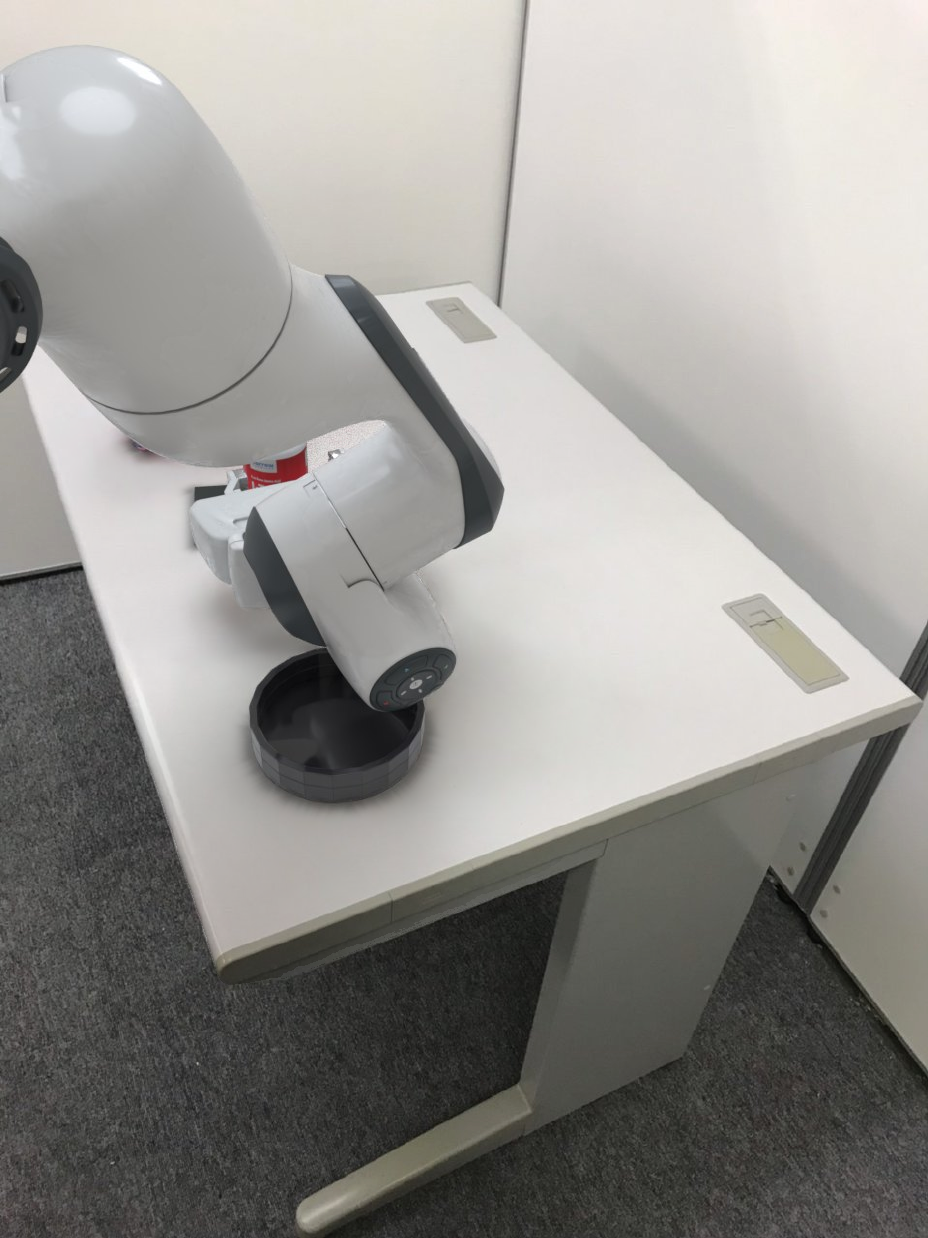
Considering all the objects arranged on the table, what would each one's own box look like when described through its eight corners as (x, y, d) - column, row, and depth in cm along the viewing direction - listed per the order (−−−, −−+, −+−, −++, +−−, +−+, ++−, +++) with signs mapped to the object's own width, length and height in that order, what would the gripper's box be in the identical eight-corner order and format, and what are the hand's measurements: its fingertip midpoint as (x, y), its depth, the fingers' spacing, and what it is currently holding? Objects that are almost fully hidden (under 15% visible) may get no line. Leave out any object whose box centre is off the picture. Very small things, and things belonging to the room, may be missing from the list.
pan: (256, 813, 70) (252, 785, 68) (249, 682, 79) (246, 655, 77) (436, 790, 72) (438, 763, 70) (408, 666, 82) (409, 639, 80)
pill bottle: (247, 527, 94) (236, 428, 86) (246, 491, 98) (236, 393, 91) (312, 524, 95) (306, 425, 87) (308, 488, 99) (302, 391, 92)
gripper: (456, 496, 80) (392, 415, 89) (211, 551, 73) (169, 457, 82) (452, 555, 85) (391, 472, 94) (220, 613, 77) (179, 517, 86)
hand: (286, 465), depth 88 cm, fingers open, 8 cm apart
